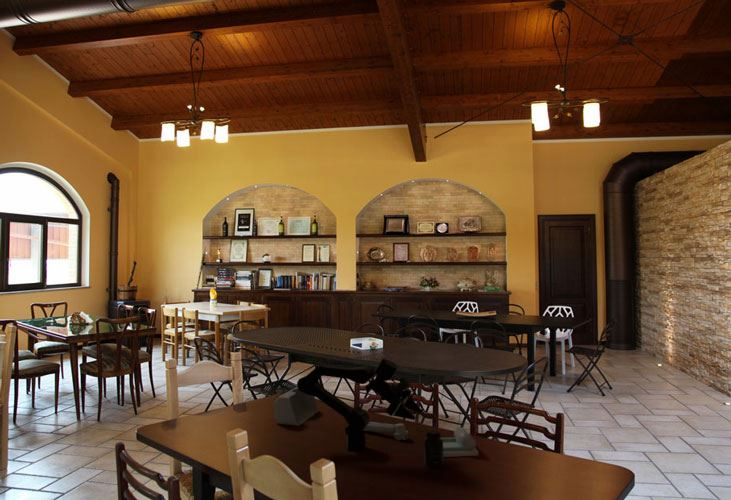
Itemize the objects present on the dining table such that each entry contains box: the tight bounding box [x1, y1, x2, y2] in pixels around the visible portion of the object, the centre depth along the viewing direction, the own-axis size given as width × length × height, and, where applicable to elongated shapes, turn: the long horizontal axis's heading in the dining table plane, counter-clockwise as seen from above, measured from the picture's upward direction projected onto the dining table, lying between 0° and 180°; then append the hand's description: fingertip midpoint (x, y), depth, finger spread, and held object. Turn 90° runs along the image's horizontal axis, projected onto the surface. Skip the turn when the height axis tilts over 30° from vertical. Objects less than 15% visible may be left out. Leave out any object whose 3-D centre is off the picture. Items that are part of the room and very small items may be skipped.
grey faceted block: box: [273, 386, 320, 427], centre depth 241 cm, size 25×16×12 cm, turn 163°
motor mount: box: [440, 426, 479, 458], centre depth 200 cm, size 16×14×6 cm
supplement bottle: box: [423, 428, 444, 469], centre depth 185 cm, size 7×7×12 cm
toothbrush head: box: [363, 421, 409, 441], centre depth 217 cm, size 5×7×25 cm
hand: (418, 415), depth 193 cm, fingers open, 9 cm apart
